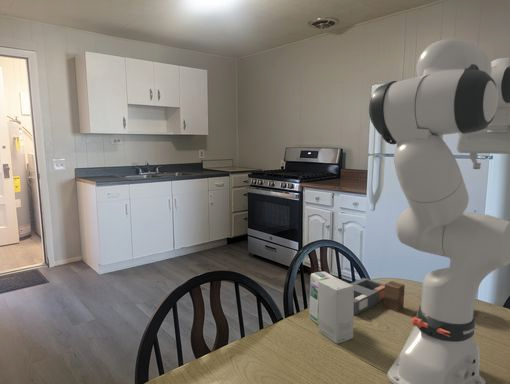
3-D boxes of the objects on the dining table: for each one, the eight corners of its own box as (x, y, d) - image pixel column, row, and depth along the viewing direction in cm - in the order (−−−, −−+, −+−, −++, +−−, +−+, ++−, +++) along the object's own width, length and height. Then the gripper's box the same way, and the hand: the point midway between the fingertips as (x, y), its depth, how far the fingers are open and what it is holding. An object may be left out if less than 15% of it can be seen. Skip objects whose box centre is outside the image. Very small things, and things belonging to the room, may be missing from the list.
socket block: (355, 316, 112) (356, 302, 112) (329, 304, 120) (329, 291, 120) (388, 298, 125) (389, 285, 125) (363, 289, 133) (363, 277, 132)
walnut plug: (396, 311, 115) (397, 288, 114) (383, 307, 119) (384, 284, 118) (403, 307, 118) (404, 284, 117) (390, 303, 122) (392, 280, 121)
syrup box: (308, 317, 112) (309, 273, 109) (323, 313, 114) (325, 270, 112) (319, 326, 106) (320, 279, 104) (335, 322, 109) (336, 276, 107)
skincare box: (353, 339, 99) (356, 286, 97) (335, 345, 96) (337, 290, 94) (333, 325, 107) (335, 275, 105) (316, 331, 104) (317, 279, 101)
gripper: (455, 121, 104) (451, 168, 106) (544, 117, 89) (538, 173, 91) (462, 122, 108) (459, 167, 110) (548, 119, 93) (542, 171, 95)
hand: (495, 170), depth 100 cm, fingers open, 8 cm apart
